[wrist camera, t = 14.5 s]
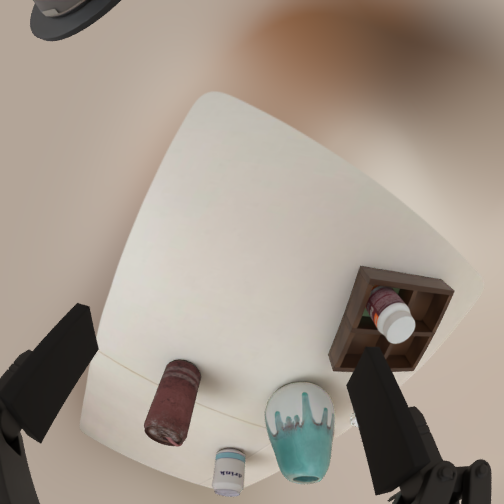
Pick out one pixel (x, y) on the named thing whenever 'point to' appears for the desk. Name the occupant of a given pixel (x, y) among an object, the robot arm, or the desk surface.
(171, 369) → the red cylinder
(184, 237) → the desk surface
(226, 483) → the beverage can
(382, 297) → the pill bottle
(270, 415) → the vase
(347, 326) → the holder
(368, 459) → the robot arm
